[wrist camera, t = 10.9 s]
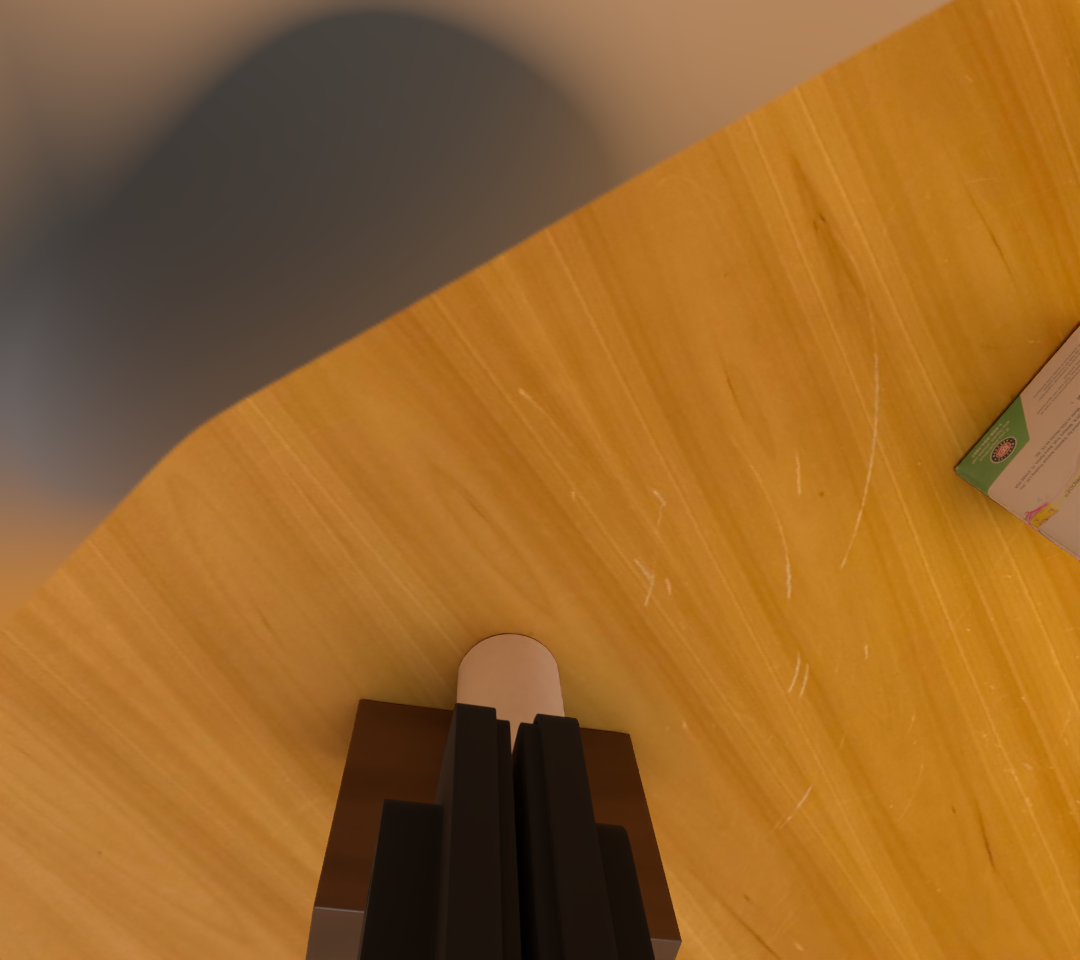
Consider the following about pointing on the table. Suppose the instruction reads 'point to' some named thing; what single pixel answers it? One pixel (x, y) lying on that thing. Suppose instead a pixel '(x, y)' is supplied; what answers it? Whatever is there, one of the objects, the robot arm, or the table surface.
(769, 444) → the table surface
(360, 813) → the wooden block
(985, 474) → the ink box
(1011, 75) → the table surface
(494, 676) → the paper roll
